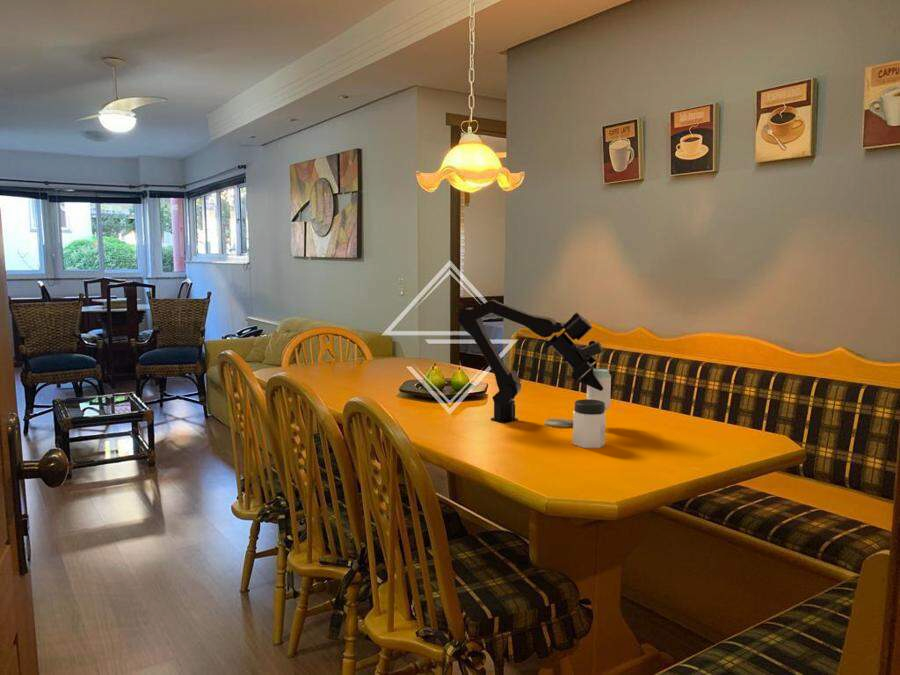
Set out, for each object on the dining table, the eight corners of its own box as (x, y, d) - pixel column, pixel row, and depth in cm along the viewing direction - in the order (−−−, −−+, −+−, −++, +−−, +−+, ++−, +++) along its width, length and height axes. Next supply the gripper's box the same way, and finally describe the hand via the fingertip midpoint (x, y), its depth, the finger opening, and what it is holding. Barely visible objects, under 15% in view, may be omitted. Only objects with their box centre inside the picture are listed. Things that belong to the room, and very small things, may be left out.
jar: (611, 446, 186) (612, 403, 185) (588, 450, 182) (589, 406, 181) (589, 439, 194) (590, 397, 193) (567, 442, 190) (567, 400, 189)
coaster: (569, 429, 205) (569, 427, 205) (539, 425, 210) (539, 423, 210) (581, 422, 214) (581, 420, 214) (551, 418, 219) (551, 417, 219)
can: (612, 407, 209) (614, 369, 208) (605, 412, 203) (607, 372, 202) (590, 405, 213) (591, 367, 211) (583, 409, 207) (584, 370, 205)
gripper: (583, 335, 197) (621, 375, 195) (590, 329, 215) (625, 365, 213) (556, 361, 201) (592, 400, 199) (565, 352, 218) (598, 388, 216)
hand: (603, 387), depth 207 cm, fingers closed on can, 7 cm apart
